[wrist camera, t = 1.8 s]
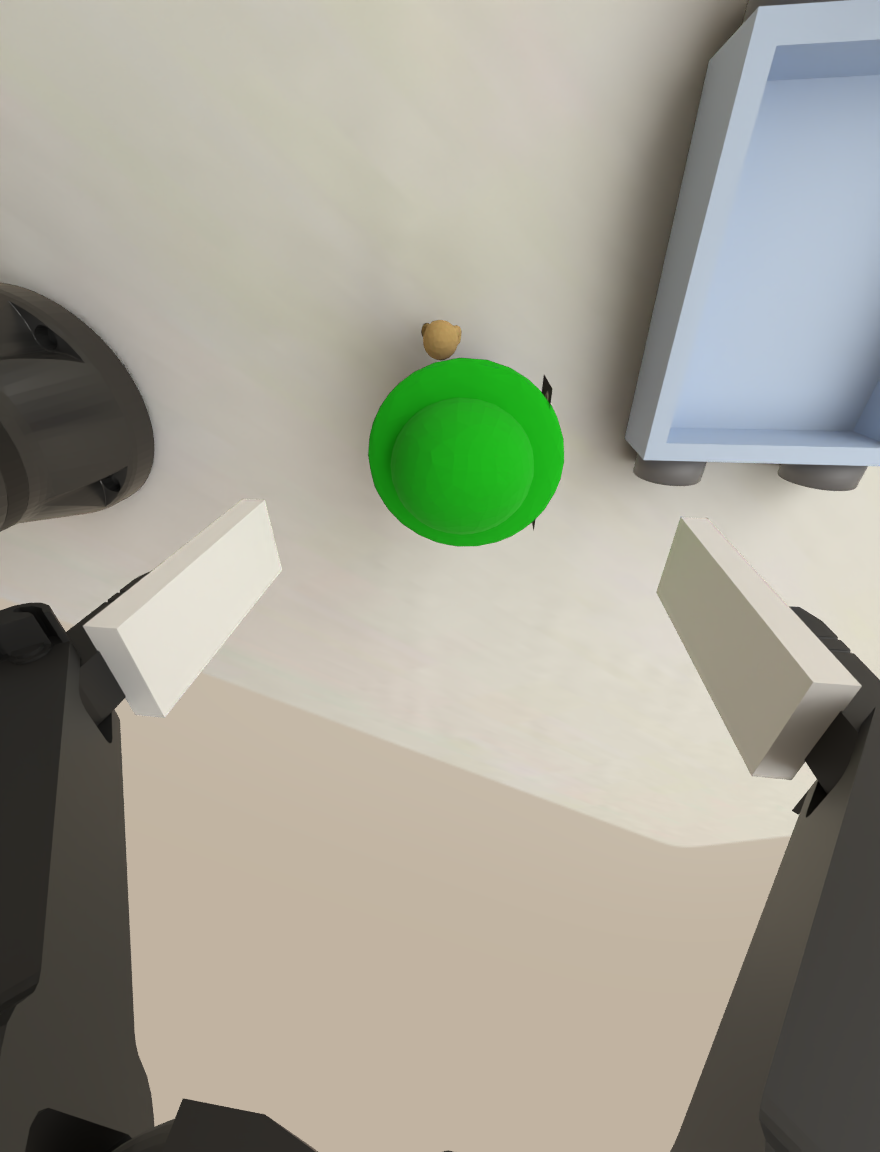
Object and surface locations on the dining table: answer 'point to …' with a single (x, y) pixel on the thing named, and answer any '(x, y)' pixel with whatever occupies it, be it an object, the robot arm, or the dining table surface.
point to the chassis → (773, 260)
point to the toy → (465, 447)
